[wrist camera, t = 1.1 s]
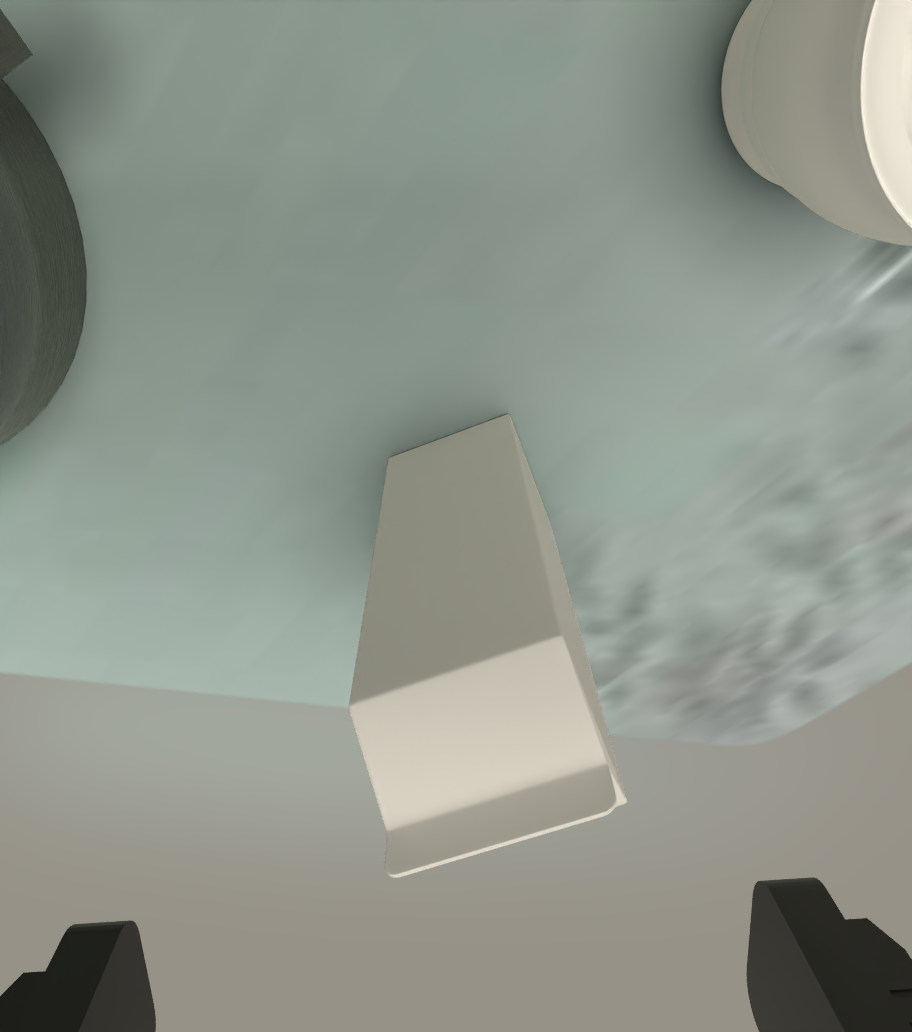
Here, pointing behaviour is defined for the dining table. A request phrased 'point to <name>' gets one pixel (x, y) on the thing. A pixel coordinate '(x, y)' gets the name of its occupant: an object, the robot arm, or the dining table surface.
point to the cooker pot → (33, 259)
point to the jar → (827, 107)
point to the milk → (474, 661)
